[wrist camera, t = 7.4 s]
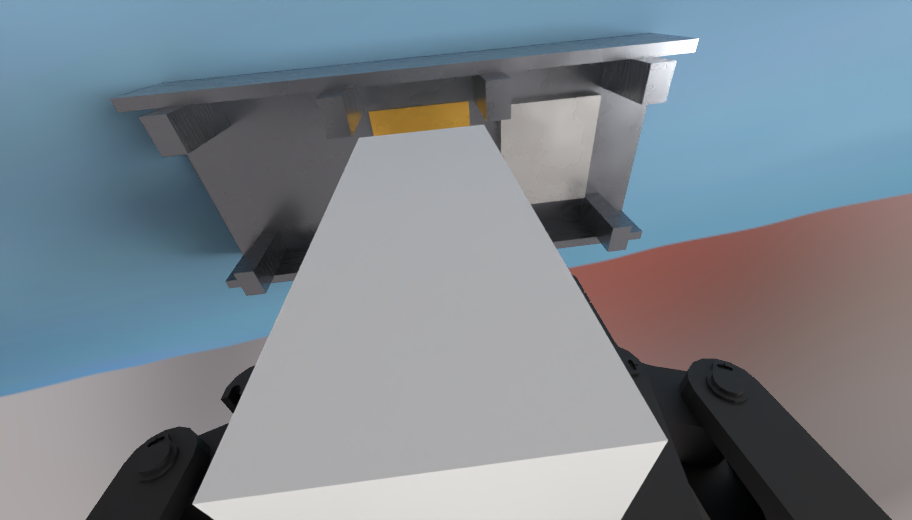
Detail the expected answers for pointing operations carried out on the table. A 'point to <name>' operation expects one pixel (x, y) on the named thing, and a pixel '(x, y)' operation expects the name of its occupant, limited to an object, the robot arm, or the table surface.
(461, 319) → the white box
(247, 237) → the rack
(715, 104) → the table surface
